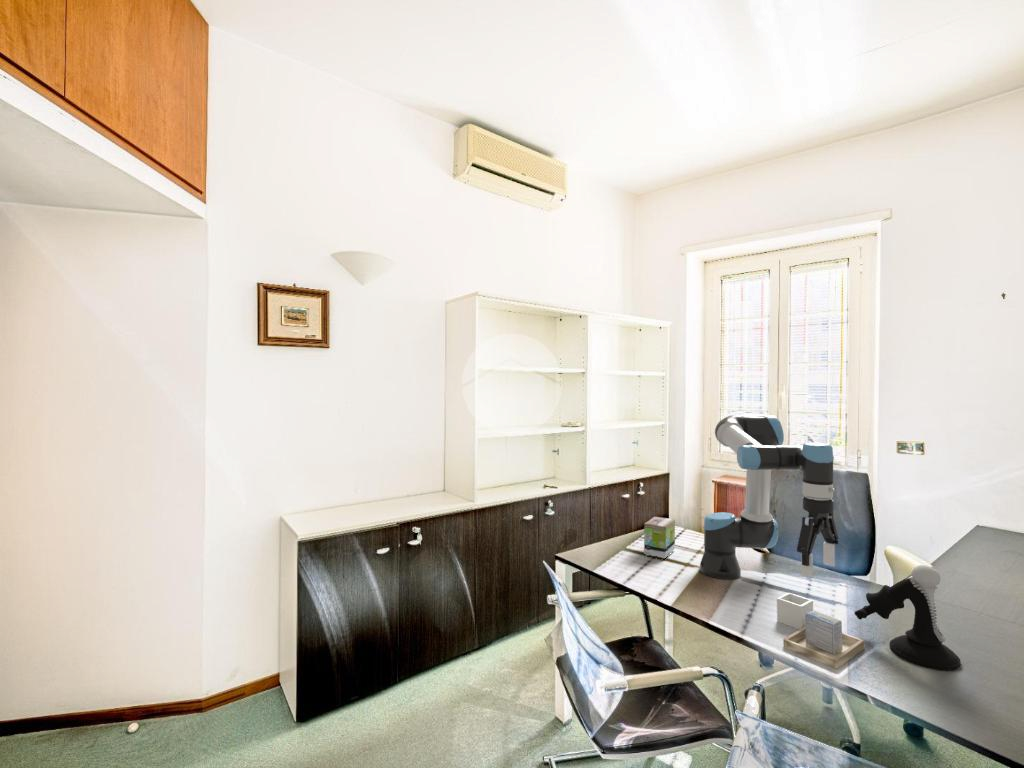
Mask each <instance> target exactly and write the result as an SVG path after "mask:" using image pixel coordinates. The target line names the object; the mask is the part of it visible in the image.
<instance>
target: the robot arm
mask: <svg viewBox="0 0 1024 768" xmlns="http://www.w3.org/2000/svg"><path fill="white" fill-rule="evenodd" d="M714 436H715V438H716V440H717V441H718V442H719V443H720V444H721V445H723V446H724V447H727V448H729V449H731V450H732V451H733V452H734V453H735V454H736V461H737V464H738V466H739V467H740V469H743V470H746V473H745V474H746V476H745V477H746V479H745V499H744V501H745V502H744V508H743V509H742V510H741V511H740V517H739V516H738V517H736V515H735V514H734V513H731V512H724V511H723V512H722V511H721V512H712V513H710V514H708V515H706V516H705V517H704V520H703V521H704V522H703V537H704V539H703V541H704V542H703V544H704V545H703V546H704V548H703V549H704V551H703V554H702V558H701V560H700V563H699V571H700V573H702V574H703V575H705V576H708V577H709V578H710V577H711V578H716V579H720V580H734V579H739V578H741V575H742V573H741V571H742V570H741V567H740V563H739V560H738V558H737V556H736V549H737V548H743V549H760V550H762V549H772V548H774V547H775V546H776V544H777V543H778V539H779V530H778V529H779V524H778V522H777V520H776V519H774V516H773V515H772V514H771V512H770V500H771V499H770V498H771V481H772V479H771V477H772V471H774V470H775V471H801V472H802V493H801V494H802V495H803V497H802V509H803V510H804V511H806V512H807V513H808V514H807V517H806V516H802V519H801V529H800V532H799V536H798V542H797V547H796V552H797V553H800V558H801V559H800V560H801V562H800V564H801V567H800V568H801V570H800V572H801V574H800V575H801V576H802V577H803V576H804V577H806V578H810V579H813V578H814V556H813V555H814V554H813V553H812V551H813V549H814V545H815V543H816V539H817V537H818V535H820V534H821V535H822V537H823V538H822V539H823V540H824V542H822V543H823V546H822V547H823V550H822V551H823V553H822V555H823V561H822V563H823V565H826V566H828V567H829V566H830V567H834V568H835V564H836V563H835V561H836V559H835V557H836V556H835V555H836V554H835V553H836V552H835V550H836V549H835V545H838V544H839V540H838V539H839V534H838V530H837V527H836V523H835V520H834V511H835V510H834V509H835V507H834V500H833V499H832V498H833V497H834V492H835V491H836V489H835V488H834V460H835V457H834V450H833V449H834V448H833V446H832V445H831V444H829V443H823V442H805V443H804V444H797V443H792V444H790V445H783V444H784V441H785V440H784V439H785V438H784V437H785V436H784V430H783V426H782V424H781V421H780V419H779V418H778V417H777V416H776V415H771V414H733V415H728V416H725V417H724V418H722V419H721V420H719V422H717V424H716V426H715V429H714Z"/></svg>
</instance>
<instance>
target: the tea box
mask: <svg viewBox="0 0 1024 768" xmlns="http://www.w3.org/2000/svg"><path fill="white" fill-rule="evenodd" d="M643 527H644V530H643V532H644V533H643V534H644V535H643V536H644V538H643V539H644V540H643V547H644V548H643V555H644V554H646V555H652V556H658V557H662V558H666V557H667V556H668V557H670V556H671V554H670V553H672V552H673V550H674V549H675V550H676V519H673V518H667V517H661V516H660V517H659V516H653V517H651V518H650V519H649V520H648V521H646V522H644V526H643ZM673 553H674V552H673ZM673 553H672V554H673ZM669 555H670V556H669ZM668 557H667V558H668ZM667 558H666V559H667Z"/></svg>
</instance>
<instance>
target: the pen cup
mask: <svg viewBox="0 0 1024 768" xmlns="http://www.w3.org/2000/svg"><path fill="white" fill-rule="evenodd" d="M813 610H814V600H813V599H810V598H807V597H803V596H801V595H798V594H794V593H791V592H787V593H785V594H783V595H781V596H779V597H777V598H776V621H777V623H780V624H784V625H786V626H790V627H792V628H794V629H797V630H800V629H801V628H803V627H805V614H806V613H808V612H811V611H813Z"/></svg>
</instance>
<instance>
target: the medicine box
mask: <svg viewBox="0 0 1024 768" xmlns="http://www.w3.org/2000/svg"><path fill="white" fill-rule="evenodd" d="M805 626H806V643H807V644H810V645H812V646H814V647H817V648H819V649H821V650H824V651H826V652H828V653H831V654H833V655H836V654H837V653H839V652H841V651H842V650H843V649H842V633H843V630H842V629H843V626H842V620H840V619H838V618H836V617H833V616H830V615H827V614H824V613H822V612H819V611H816V610H814V609H813V611H811V612H808V613H806V614H805Z"/></svg>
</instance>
